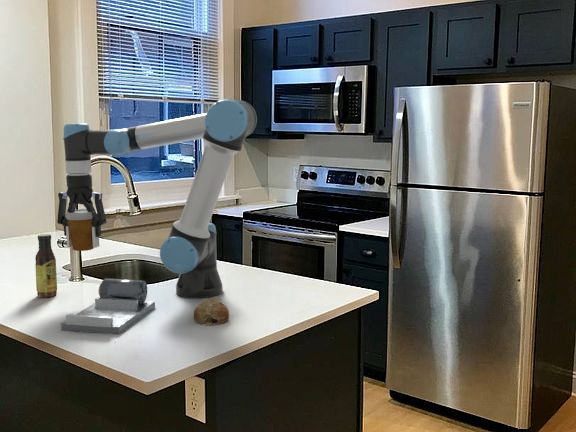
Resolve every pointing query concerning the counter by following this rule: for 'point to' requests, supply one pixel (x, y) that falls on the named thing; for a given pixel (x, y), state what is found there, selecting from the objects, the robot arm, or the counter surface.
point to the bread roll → (211, 312)
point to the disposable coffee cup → (80, 229)
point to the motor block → (112, 308)
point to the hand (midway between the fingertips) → (83, 246)
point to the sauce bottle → (45, 268)
